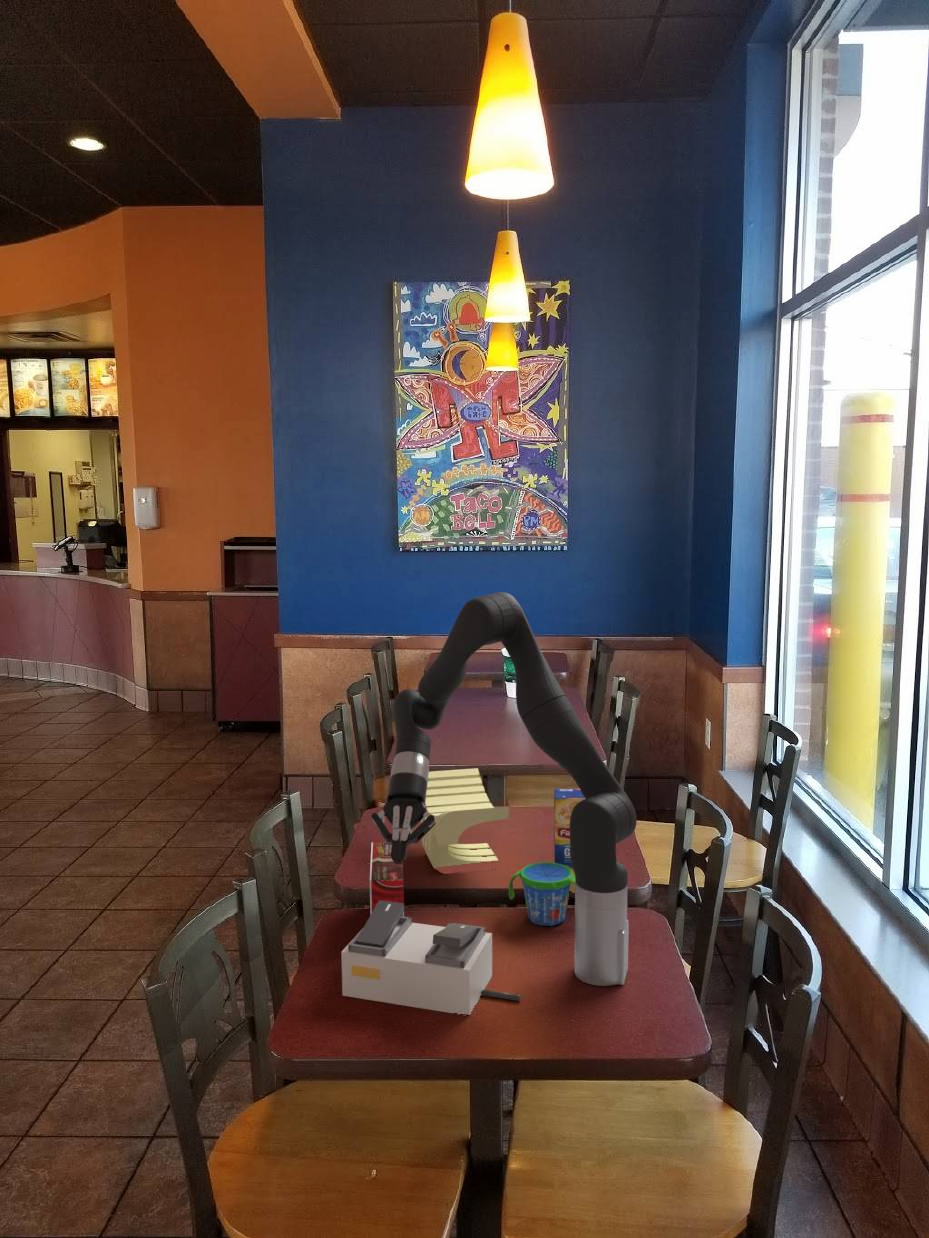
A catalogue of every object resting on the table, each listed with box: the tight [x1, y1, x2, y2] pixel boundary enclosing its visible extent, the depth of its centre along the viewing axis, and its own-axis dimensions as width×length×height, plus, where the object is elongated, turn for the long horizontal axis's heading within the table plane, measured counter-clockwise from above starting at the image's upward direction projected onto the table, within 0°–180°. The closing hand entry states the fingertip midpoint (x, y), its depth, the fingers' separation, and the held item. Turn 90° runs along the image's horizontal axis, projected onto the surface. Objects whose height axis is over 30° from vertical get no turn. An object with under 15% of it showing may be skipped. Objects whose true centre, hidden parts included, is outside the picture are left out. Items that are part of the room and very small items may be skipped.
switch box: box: [340, 916, 522, 1016], centre depth 167 cm, size 30×14×9 cm, turn 73°
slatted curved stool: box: [420, 767, 510, 869], centre depth 224 cm, size 30×16×18 cm, turn 12°
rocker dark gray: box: [356, 900, 405, 948], centre depth 170 cm, size 5×11×2 cm, turn 163°
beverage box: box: [553, 788, 585, 893], centre depth 206 cm, size 7×11×22 cm, turn 86°
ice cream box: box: [369, 841, 405, 917], centre depth 193 cm, size 20×6×13 cm, turn 4°
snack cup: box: [508, 861, 575, 927], centre depth 194 cm, size 16×10×10 cm
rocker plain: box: [433, 923, 478, 947], centre depth 166 cm, size 5×11×2 cm, turn 163°
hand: (397, 862), depth 181 cm, fingers closed
